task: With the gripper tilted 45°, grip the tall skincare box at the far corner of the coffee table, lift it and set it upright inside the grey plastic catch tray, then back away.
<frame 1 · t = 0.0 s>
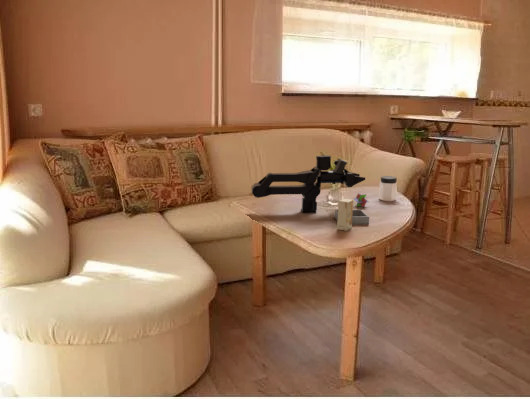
hand: (362, 176, 217), 17 cm above the table, tool horizontal, fingers open, 9 cm apart
skincare box: (344, 229, 191), on the table
catch tray: (351, 220, 203), on the table
geometric puzzle: (360, 207, 229), on the table
jar: (387, 199, 245), on the table
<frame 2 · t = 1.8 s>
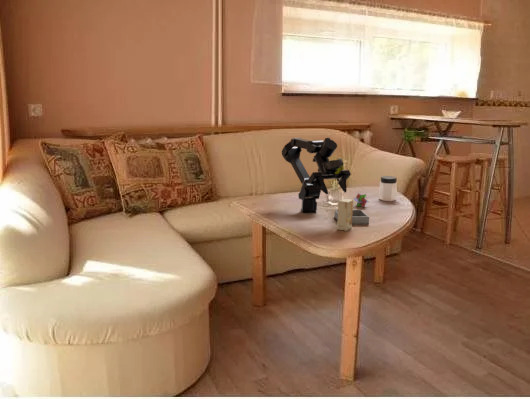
hand: (336, 193, 195), 14 cm above the table, tool tilted 45°, fingers open, 9 cm apart
nothing on the table moved.
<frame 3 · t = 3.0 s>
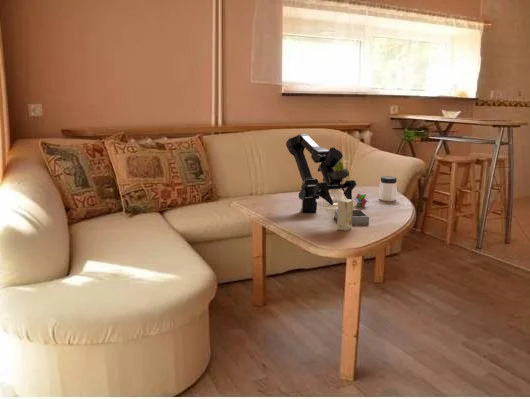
hand: (342, 203, 191), 10 cm above the table, tool tilted 45°, fingers open, 9 cm apart
nothing on the table moved.
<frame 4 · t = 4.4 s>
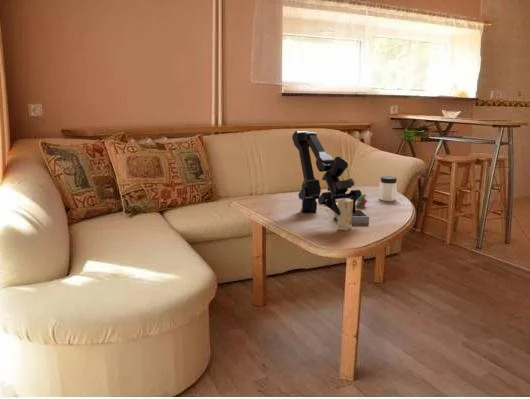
hand: (347, 214, 188), 7 cm above the table, tool tilted 45°, fingers closed on skincare box, 7 cm apart
skincare box: (344, 229, 191), on the table, touching gripper
everything else where it was.
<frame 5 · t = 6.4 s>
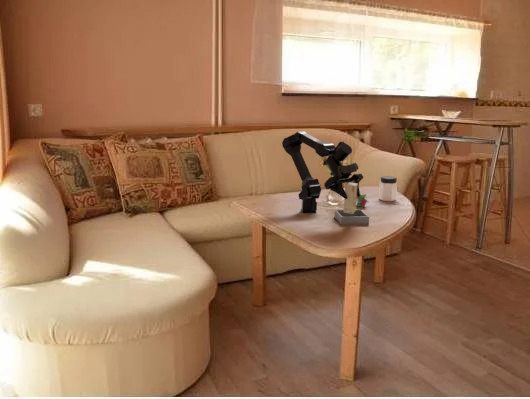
hand: (353, 197, 193), 12 cm above the table, tool tilted 45°, fingers closed on skincare box, 7 cm apart
skincare box: (349, 212, 196), point 5 cm above the table, touching gripper
everything else where it was.
when the fingers open (8 cm above the table, at t = 8.3 s): skincare box drops 1 cm, resting on catch tray.
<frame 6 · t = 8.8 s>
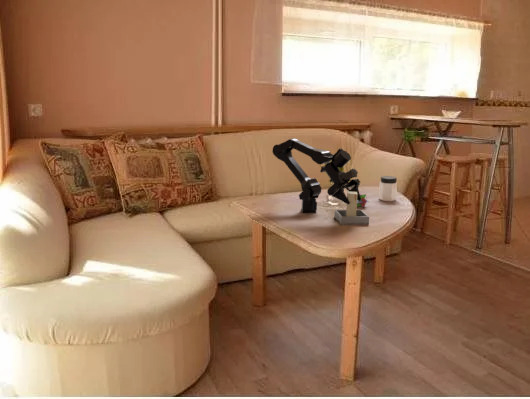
hand: (354, 202, 200), 9 cm above the table, tool tilted 45°, fingers open, 9 cm apart
skincare box: (350, 219, 203), resting on catch tray
everything else where it was.
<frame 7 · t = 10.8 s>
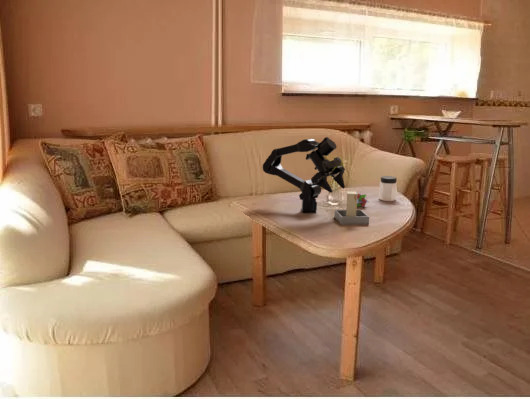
hand: (338, 190, 206), 13 cm above the table, tool tilted 40°, fingers open, 9 cm apart
nothing on the table moved.
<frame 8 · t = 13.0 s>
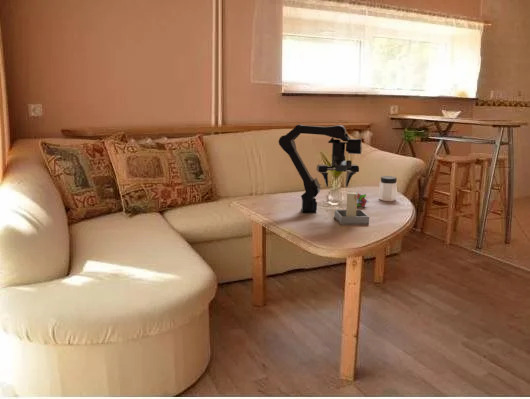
hand: (336, 186, 212), 13 cm above the table, tool pointing down, fingers open, 9 cm apart
nothing on the table moved.
at the end: skincare box inside the target area on the catch tray (0.2 cm from its centre), point 0.4 cm above the catch tray's base; skincare box tilted 0°; the gripper is holding nothing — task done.
